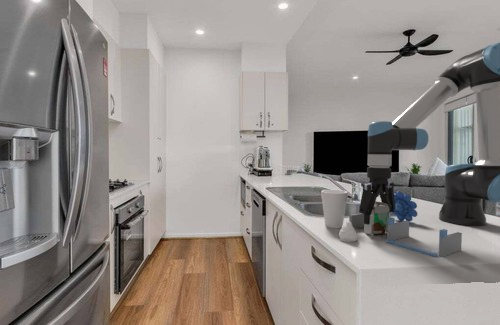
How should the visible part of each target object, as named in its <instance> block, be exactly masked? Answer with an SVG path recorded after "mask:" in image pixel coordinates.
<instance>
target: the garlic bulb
mask: <svg viewBox="0 0 500 325" xmlns="http://www.w3.org/2000/svg"><path fill="white" fill-rule="evenodd" d="M355 229H356V228H355ZM355 229H354V228H353V226H352V223H351V222H349V220H346V222H345V224H343V227H341V228H340V230H339V233H338V237H339V239H340V241H342V240H343V242H346V241H347V242H346V243H354V242H356V241H358V234H357V231H356V230H355Z"/></svg>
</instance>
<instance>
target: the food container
mask: <svg viewBox="0 0 500 325" xmlns="http://www.w3.org/2000/svg"><path fill="white" fill-rule="evenodd" d="M368 211H369V210H368ZM389 211H390V210H389V206H388V204H386V203H383V202H382V201H378V200H376V201H375V204H374V207H373V210H372V213H371V215H373V232H372V236H373V237H377V236H378V237H379V236H384V235H386V231H387V230H386V221H387V212H389Z"/></svg>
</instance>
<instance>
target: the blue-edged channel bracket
mask: <svg viewBox="0 0 500 325" xmlns="http://www.w3.org/2000/svg"><path fill="white" fill-rule="evenodd" d="M348 221H349V222H351V223H352V226H353V228H354V229H360V228H364V214H362V213H360V212H359V213H353V214H349V220H348ZM438 236H439V237H438V238H439V240H438V253H436V252H433V251H430V250H426V249H423V248H420V247H417V246H413V245H409V244H407V243H403V242H399V241H398V240H400V239H404V238H408V237H410V222H409V221H406V220H403V221H399V222H398V221H397V222H396V219H395V217H391V218H388V231H387V237H386V240H385V241H386V243H389V244H391V245H395V246H398V247H401V248H402V247H403V248H405V249H408V250H411V251H414V252H417V253H421V254H424V255H427V256H431V257H434V258H437V257H442V258H443V257H446V256H449V255H452V254H455V253H458V252H461V251H462V243H463V242H462V241H463V240H462V239H463V237H462V236H463V233H462V232H459V231H456V232H452V233H450V234H448V229H445V228H442V229H441V228H440V229H439V235H438ZM396 240H397V241H396Z"/></svg>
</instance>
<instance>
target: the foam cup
mask: <svg viewBox="0 0 500 325" xmlns="http://www.w3.org/2000/svg"><path fill="white" fill-rule="evenodd" d="M348 193H349V192H348V191H347V190H341V189H323V190H321V196H320V197H321V202H322V211H323V218H324V219H323V220H324V226H325V227H328V228H332V229H342V226H344V220H345V216H346V215H345V213H346V206H347V201H348V195H349V194H348Z"/></svg>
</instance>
